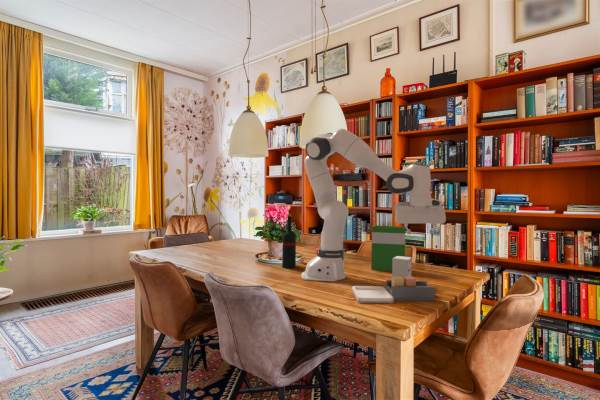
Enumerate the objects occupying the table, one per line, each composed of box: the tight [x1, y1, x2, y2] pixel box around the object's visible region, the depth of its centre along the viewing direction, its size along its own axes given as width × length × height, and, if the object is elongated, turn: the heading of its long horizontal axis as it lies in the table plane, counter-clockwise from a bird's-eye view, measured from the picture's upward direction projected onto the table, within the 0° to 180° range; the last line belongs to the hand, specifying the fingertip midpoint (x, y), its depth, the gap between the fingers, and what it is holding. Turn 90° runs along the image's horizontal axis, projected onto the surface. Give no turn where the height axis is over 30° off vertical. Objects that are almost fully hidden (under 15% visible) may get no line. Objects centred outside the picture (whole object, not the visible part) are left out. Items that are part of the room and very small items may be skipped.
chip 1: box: [390, 275, 404, 286], centre depth 140 cm, size 4×4×4 cm
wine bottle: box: [281, 213, 297, 269], centre depth 193 cm, size 8×10×30 cm
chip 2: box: [403, 276, 417, 286], centre depth 140 cm, size 4×4×4 cm
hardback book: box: [370, 225, 406, 272], centre depth 188 cm, size 18×7×24 cm, turn 75°
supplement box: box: [391, 256, 413, 278], centre depth 159 cm, size 7×7×13 cm
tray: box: [351, 285, 395, 304], centre depth 140 cm, size 14×16×2 cm
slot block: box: [385, 279, 436, 302], centre depth 140 cm, size 17×10×6 cm, turn 90°
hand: (420, 233), depth 145 cm, fingers open, 8 cm apart
